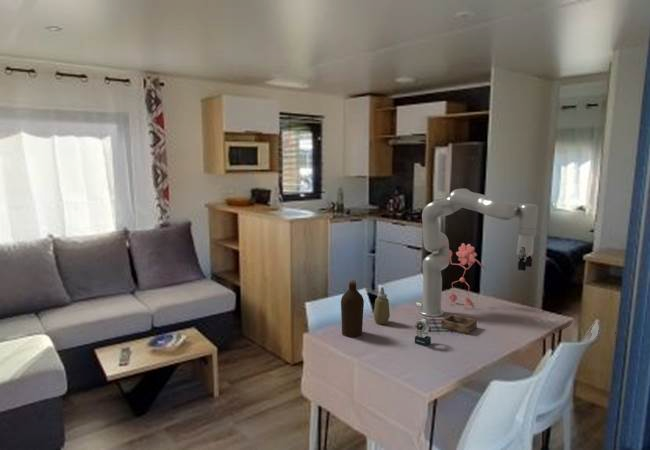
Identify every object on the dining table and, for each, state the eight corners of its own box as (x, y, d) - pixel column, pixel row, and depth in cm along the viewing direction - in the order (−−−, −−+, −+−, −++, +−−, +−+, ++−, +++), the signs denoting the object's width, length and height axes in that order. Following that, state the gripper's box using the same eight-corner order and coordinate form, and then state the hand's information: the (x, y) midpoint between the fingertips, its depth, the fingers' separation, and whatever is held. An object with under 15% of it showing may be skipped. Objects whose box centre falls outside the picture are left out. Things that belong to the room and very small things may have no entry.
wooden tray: (441, 328, 216) (441, 320, 216) (450, 322, 225) (451, 314, 224) (467, 334, 208) (468, 326, 208) (476, 328, 217) (476, 320, 216)
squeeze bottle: (371, 324, 222) (372, 288, 219) (375, 318, 229) (376, 284, 226) (387, 326, 218) (388, 290, 216) (391, 321, 226) (392, 286, 223)
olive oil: (365, 337, 205) (366, 283, 202) (343, 338, 203) (343, 284, 200) (360, 328, 215) (360, 277, 212) (338, 330, 214) (338, 278, 210)
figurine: (477, 313, 238) (481, 248, 233) (437, 301, 258) (440, 241, 253) (493, 308, 247) (497, 245, 243) (453, 297, 267) (456, 239, 263)
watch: (412, 344, 197) (413, 320, 195) (421, 339, 203) (422, 315, 201) (424, 348, 193) (424, 323, 191) (432, 342, 199) (433, 318, 198)
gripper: (523, 228, 212) (521, 263, 215) (512, 232, 199) (510, 270, 201) (541, 229, 208) (538, 266, 210) (530, 234, 194) (528, 273, 197)
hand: (524, 268), depth 206 cm, fingers open, 9 cm apart
